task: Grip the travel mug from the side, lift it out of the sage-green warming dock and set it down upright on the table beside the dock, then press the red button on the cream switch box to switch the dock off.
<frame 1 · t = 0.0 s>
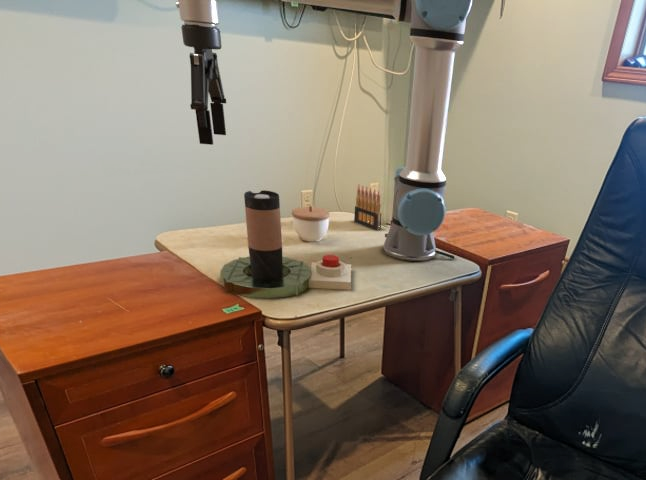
hand: (213, 139, 118), 28 cm above the table, tool pointing down, fingers open, 13 cm apart
switch button: (330, 261, 126), point 5 cm above the table, slide at 0.1 cm
travel mug: (267, 281, 125), resting in warming dock
trinket box: (311, 239, 153), on the table
ammunition clip: (367, 226, 169), on the table
switch box: (330, 279, 129), on the table
warming dock: (267, 280, 125), on the table
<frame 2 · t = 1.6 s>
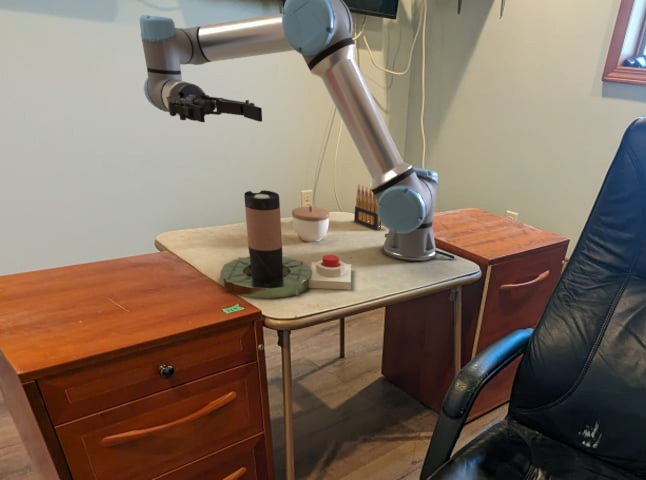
hand: (232, 114, 110), 34 cm above the table, tool horizontal, fingers open, 13 cm apart
nothing on the table moved.
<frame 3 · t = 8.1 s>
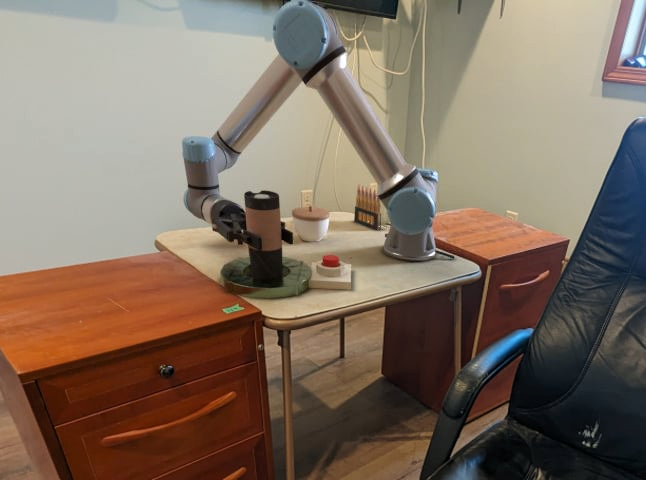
hand: (276, 241, 116), 11 cm above the table, tool horizontal, fingers closed on travel mug, 7 cm apart
travel mug: (267, 281, 125), resting in warming dock, touching gripper
everything else where it was.
when the fingers open (11 cm above the table, at t = 17.7 s): travel mug stays where it is, on the table.
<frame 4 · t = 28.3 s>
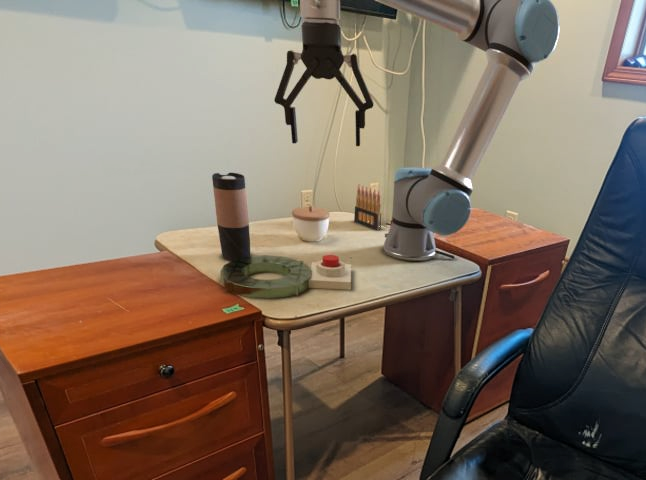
hand: (326, 144, 111), 31 cm above the table, tool pointing down, fingers open, 13 cm apart
travel mug: (236, 257, 136), on the table
everything else where it was.
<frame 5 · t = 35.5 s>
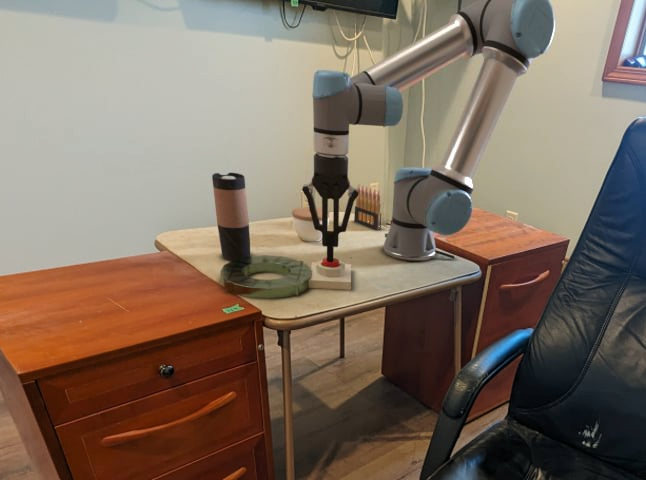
hand: (330, 259, 126), 5 cm above the table, tool pointing down, fingers closed
switch button: (330, 264, 127), point 4 cm above the table, slide at -0.6 cm, touching gripper
everything else where it was.
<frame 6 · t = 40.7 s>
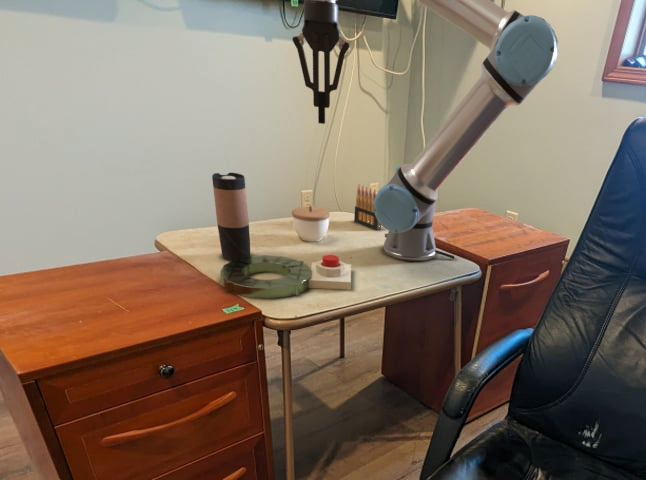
hand: (321, 122, 125), 32 cm above the table, tool pointing down, fingers closed
switch button: (330, 261, 126), point 5 cm above the table, slide at 0.1 cm
everything else where it was.
at the end: travel mug inside the target area (0.1 cm from its centre), on the table; travel mug tilted 0°; switch button pushed in 1.0 cm at the most during the clip, back to where it started at the end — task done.
